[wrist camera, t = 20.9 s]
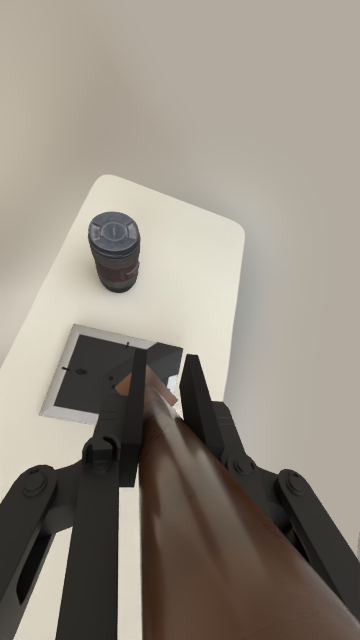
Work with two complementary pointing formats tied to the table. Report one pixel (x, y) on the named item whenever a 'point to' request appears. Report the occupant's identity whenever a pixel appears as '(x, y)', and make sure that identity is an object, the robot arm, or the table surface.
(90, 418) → the picture frame
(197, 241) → the table surface
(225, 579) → the brown piece
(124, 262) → the camera lens
